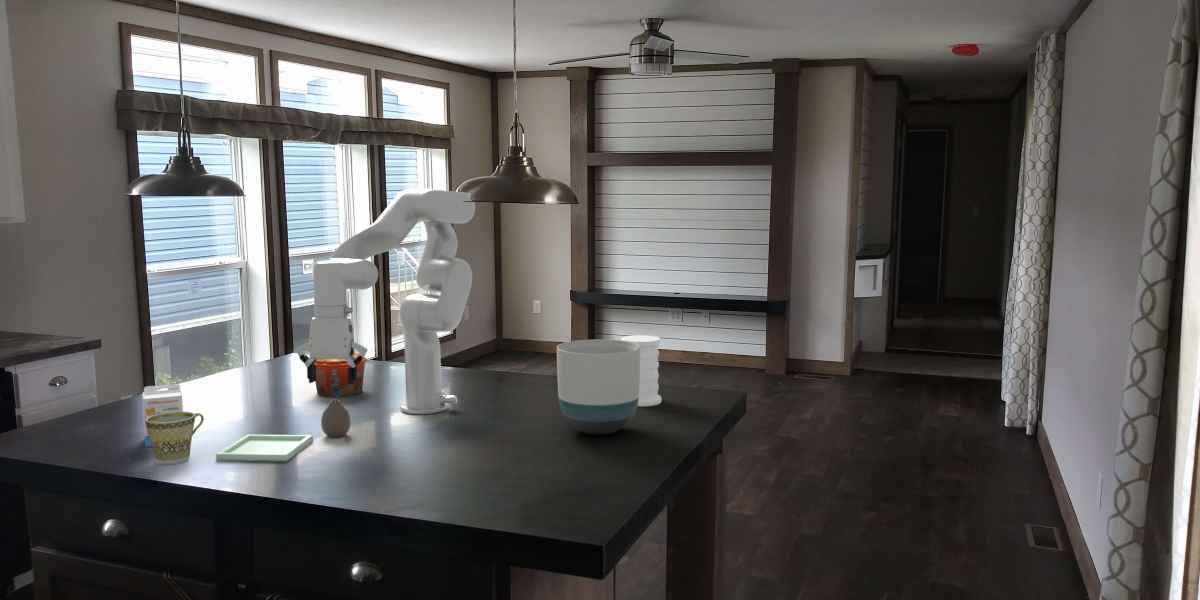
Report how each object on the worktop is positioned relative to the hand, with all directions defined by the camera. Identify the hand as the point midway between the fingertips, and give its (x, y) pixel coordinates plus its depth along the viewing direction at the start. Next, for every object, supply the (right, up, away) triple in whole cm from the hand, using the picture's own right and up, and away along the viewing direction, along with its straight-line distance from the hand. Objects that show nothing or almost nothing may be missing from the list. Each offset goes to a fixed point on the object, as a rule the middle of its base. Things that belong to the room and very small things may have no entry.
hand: (332, 382), depth 220 cm
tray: (-12, -15, -10) cm, 22 cm away
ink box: (-40, -14, -1) cm, 42 cm away
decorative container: (+76, -9, +36) cm, 85 cm away
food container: (-12, -8, +49) cm, 51 cm away
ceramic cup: (-30, -16, -16) cm, 37 cm away
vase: (0, -14, +2) cm, 14 cm away
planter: (+65, -13, +5) cm, 66 cm away
